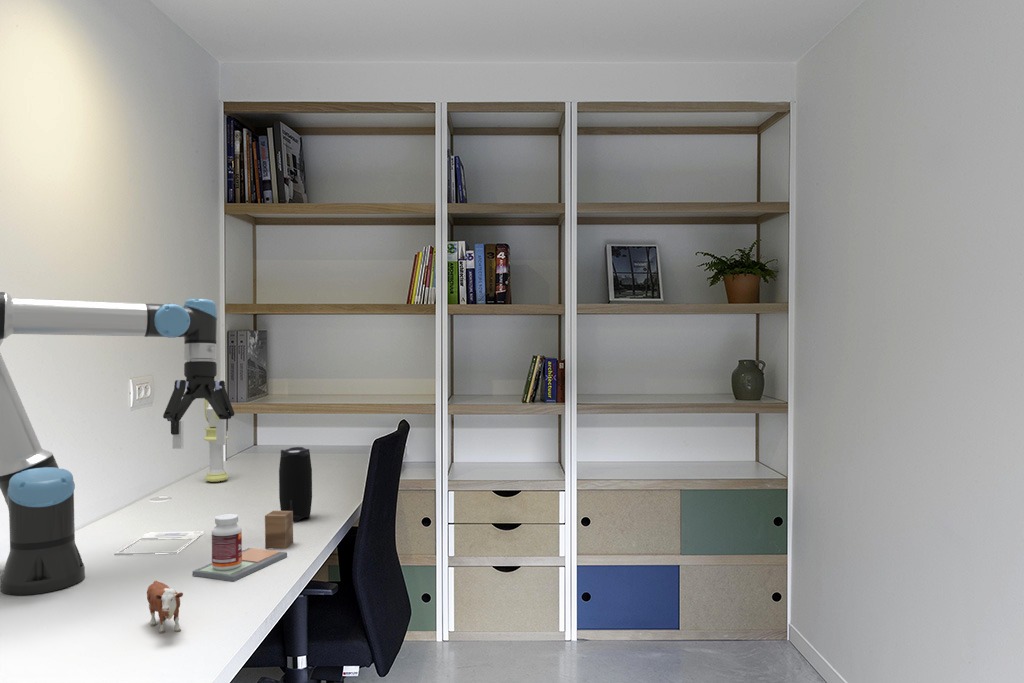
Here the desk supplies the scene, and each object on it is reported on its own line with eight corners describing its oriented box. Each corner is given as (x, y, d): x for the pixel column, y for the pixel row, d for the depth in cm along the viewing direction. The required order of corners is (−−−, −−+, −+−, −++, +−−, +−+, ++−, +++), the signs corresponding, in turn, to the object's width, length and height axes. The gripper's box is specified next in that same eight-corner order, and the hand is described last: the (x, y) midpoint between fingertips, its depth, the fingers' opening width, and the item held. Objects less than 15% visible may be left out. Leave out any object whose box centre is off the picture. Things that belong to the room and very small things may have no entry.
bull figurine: (160, 644, 128) (159, 596, 128) (144, 619, 139) (143, 575, 139) (187, 637, 131) (186, 590, 131) (170, 613, 142) (169, 570, 141)
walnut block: (285, 548, 183) (284, 516, 182) (265, 548, 183) (264, 515, 183) (293, 542, 188) (292, 510, 187) (273, 542, 188) (273, 510, 188)
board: (233, 581, 159) (233, 575, 159) (192, 575, 163) (192, 570, 163) (287, 556, 176) (286, 551, 176) (248, 552, 180) (248, 547, 180)
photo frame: (205, 530, 197) (177, 551, 179) (205, 534, 197) (177, 555, 179) (148, 531, 196) (114, 552, 178) (148, 535, 196) (114, 557, 178)
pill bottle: (245, 567, 164) (244, 517, 164) (215, 573, 161) (214, 521, 161) (238, 560, 170) (237, 511, 169) (209, 565, 166) (208, 515, 166)
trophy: (220, 484, 258) (219, 396, 258) (200, 483, 260) (198, 396, 259) (233, 479, 267) (231, 394, 266) (213, 478, 268) (211, 394, 267)
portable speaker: (292, 513, 217) (292, 445, 216) (319, 516, 213) (318, 447, 213) (272, 520, 209) (271, 450, 209) (299, 524, 205) (298, 452, 205)
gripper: (170, 358, 176) (169, 450, 174) (248, 362, 199) (248, 443, 197) (147, 360, 179) (146, 450, 177) (227, 363, 202) (227, 443, 200)
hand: (200, 446), depth 187 cm, fingers open, 13 cm apart
